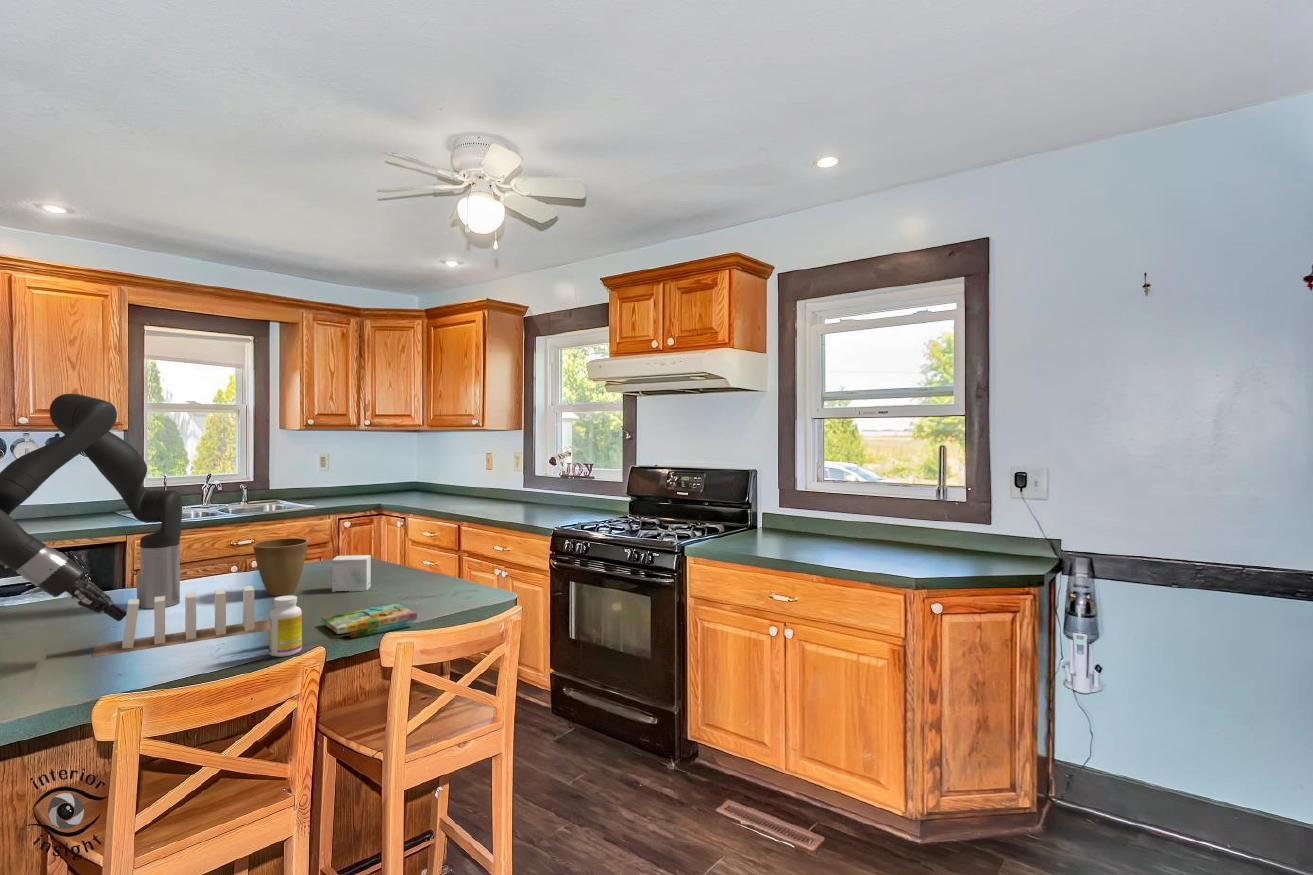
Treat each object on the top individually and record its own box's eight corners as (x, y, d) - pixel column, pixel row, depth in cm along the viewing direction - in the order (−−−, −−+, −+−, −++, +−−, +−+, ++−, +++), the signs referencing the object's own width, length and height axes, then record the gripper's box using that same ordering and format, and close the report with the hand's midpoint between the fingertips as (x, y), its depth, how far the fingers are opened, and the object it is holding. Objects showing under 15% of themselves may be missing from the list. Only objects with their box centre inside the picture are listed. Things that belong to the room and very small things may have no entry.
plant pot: (267, 587, 214) (267, 538, 214) (315, 587, 216) (315, 537, 216) (243, 599, 200) (243, 546, 199) (295, 599, 201) (295, 546, 201)
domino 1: (121, 648, 152) (127, 604, 152) (122, 642, 155) (128, 599, 156) (133, 647, 153) (139, 603, 153) (133, 641, 157) (139, 599, 157)
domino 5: (245, 630, 166) (245, 590, 166) (243, 625, 170) (243, 586, 170) (254, 629, 167) (254, 589, 167) (252, 624, 171) (252, 585, 171)
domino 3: (186, 639, 159) (185, 598, 158) (185, 634, 163) (185, 593, 162) (196, 638, 160) (196, 596, 160) (195, 632, 164) (195, 592, 164)
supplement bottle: (308, 650, 157) (308, 595, 157) (284, 659, 151) (284, 602, 150) (286, 646, 159) (286, 593, 159) (262, 655, 153) (262, 600, 153)
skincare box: (331, 592, 210) (331, 559, 209) (336, 587, 216) (336, 555, 216) (366, 591, 212) (366, 558, 211) (371, 586, 218) (371, 554, 218)
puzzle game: (416, 610, 176) (336, 624, 162) (416, 627, 176) (336, 644, 162) (399, 601, 184) (321, 614, 171) (399, 617, 185) (321, 632, 171)
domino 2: (154, 644, 155) (154, 601, 155) (154, 638, 159) (154, 597, 159) (165, 642, 156) (165, 600, 156) (165, 637, 160) (165, 595, 160)
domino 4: (216, 635, 162) (216, 594, 162) (214, 630, 166) (214, 590, 166) (225, 633, 163) (225, 593, 163) (224, 628, 167) (224, 589, 167)
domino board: (91, 663, 147) (91, 657, 146) (95, 651, 155) (95, 644, 155) (278, 634, 168) (278, 628, 168) (273, 624, 176) (273, 619, 176)
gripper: (63, 563, 142) (136, 610, 150) (70, 552, 153) (138, 597, 160) (30, 591, 139) (106, 638, 147) (39, 578, 150) (110, 623, 157)
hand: (123, 617), depth 154 cm, fingers closed
